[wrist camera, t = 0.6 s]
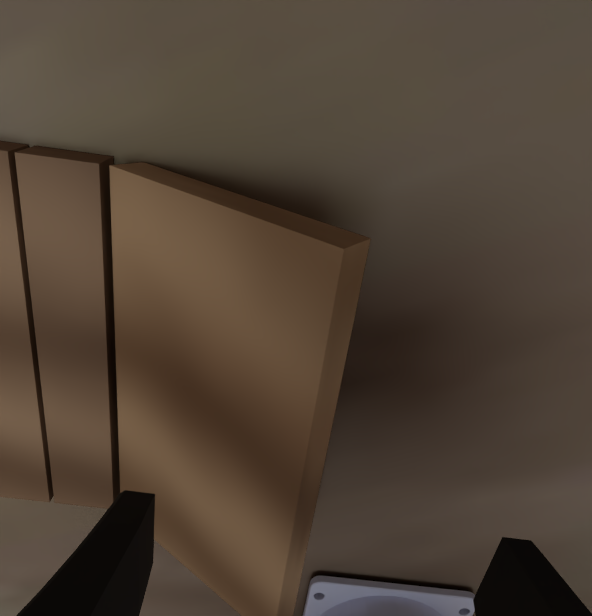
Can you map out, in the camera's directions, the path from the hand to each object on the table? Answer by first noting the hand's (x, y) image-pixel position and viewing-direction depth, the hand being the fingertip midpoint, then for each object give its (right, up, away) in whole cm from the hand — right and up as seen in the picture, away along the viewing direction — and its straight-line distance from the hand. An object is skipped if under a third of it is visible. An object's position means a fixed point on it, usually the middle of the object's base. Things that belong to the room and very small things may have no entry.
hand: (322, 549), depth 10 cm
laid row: (-10, +4, +8) cm, 13 cm away
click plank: (-3, +2, +6) cm, 7 cm away
